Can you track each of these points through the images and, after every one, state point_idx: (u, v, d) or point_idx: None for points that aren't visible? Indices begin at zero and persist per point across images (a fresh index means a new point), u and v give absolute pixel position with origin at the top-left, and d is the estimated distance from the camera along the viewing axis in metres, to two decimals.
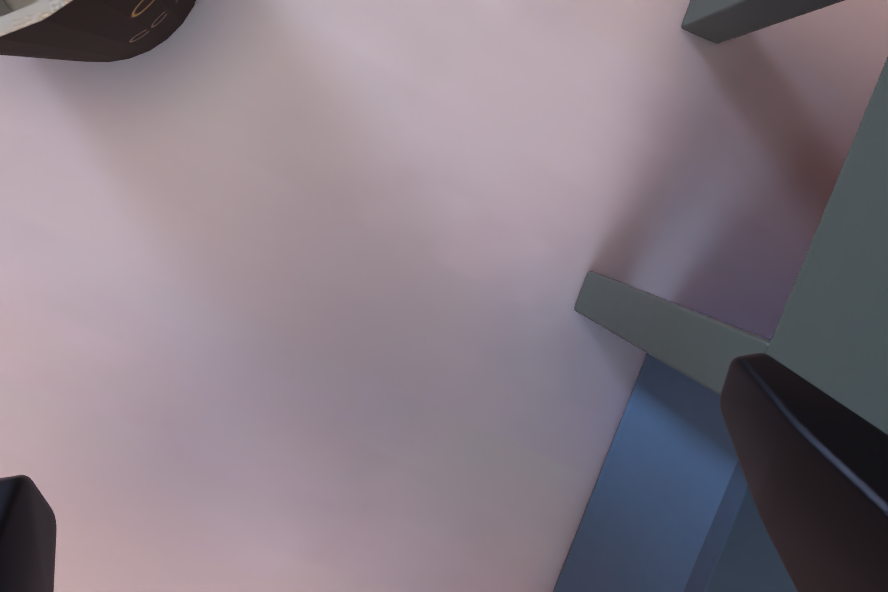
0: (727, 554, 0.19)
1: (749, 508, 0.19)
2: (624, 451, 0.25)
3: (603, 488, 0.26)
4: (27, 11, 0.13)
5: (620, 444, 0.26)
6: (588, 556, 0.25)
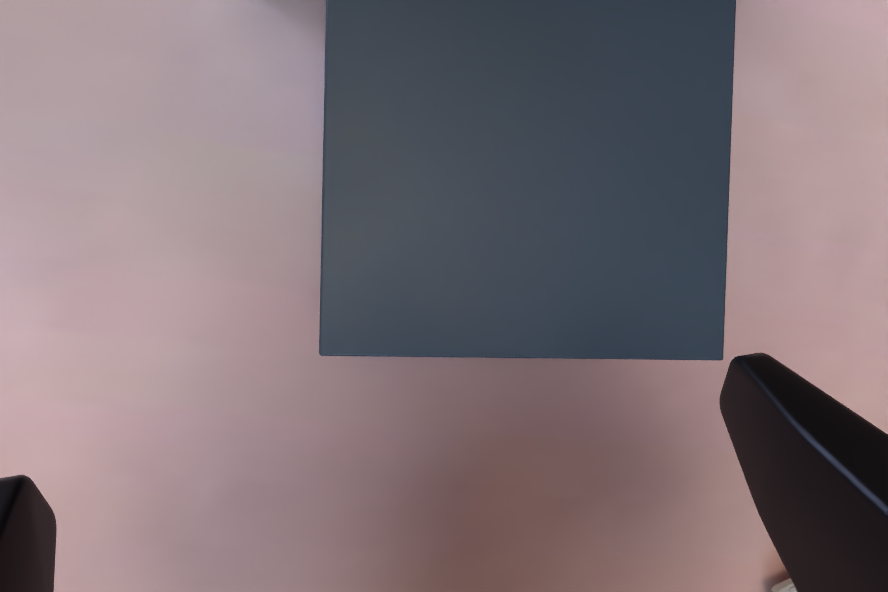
0: (334, 41, 0.17)
1: None
2: None
3: None
4: None
5: None
6: None
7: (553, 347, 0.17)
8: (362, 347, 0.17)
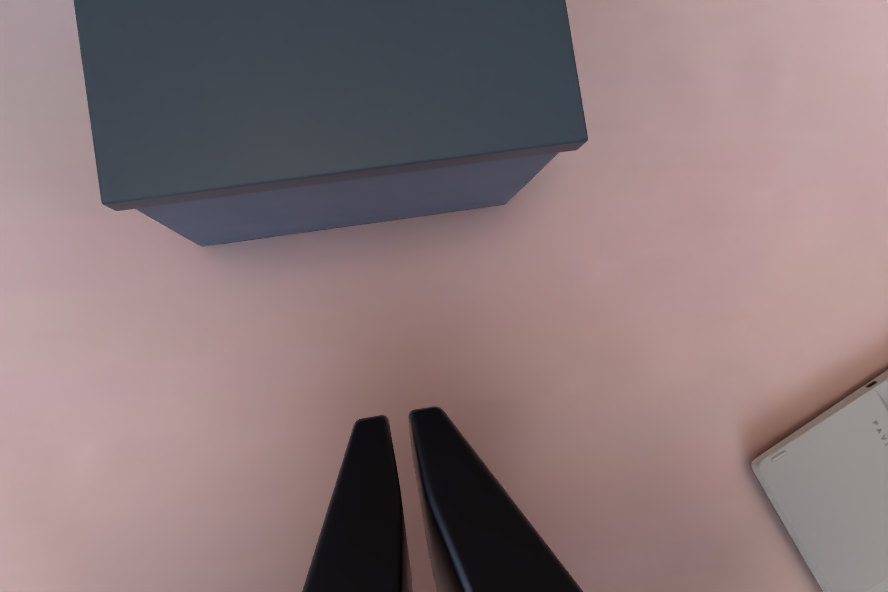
0: None
1: None
2: None
3: None
4: None
5: None
6: None
7: (382, 154, 0.15)
8: (151, 188, 0.14)
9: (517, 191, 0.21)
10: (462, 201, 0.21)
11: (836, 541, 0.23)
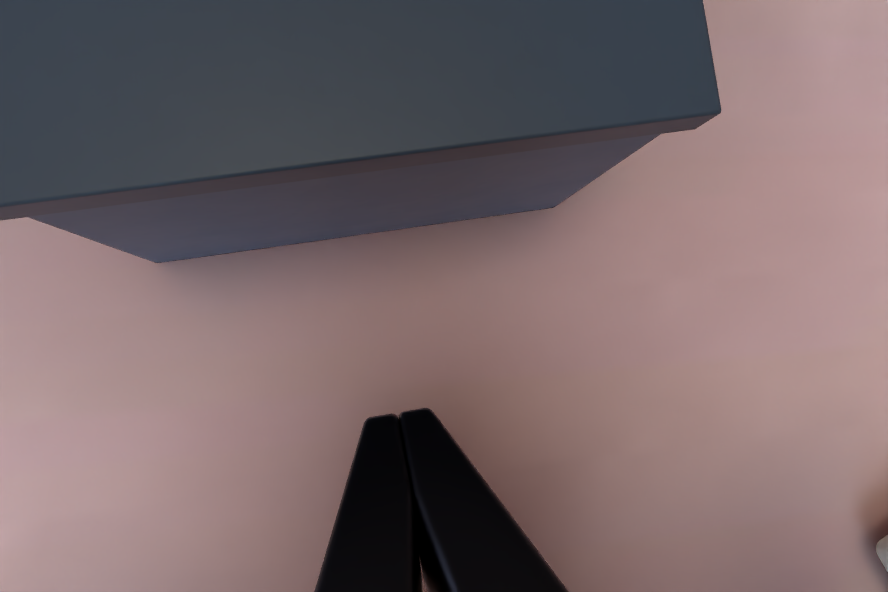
0: None
1: None
2: None
3: None
4: None
5: None
6: None
7: (404, 134, 0.09)
8: (36, 185, 0.09)
9: (577, 190, 0.16)
10: (502, 204, 0.16)
11: None
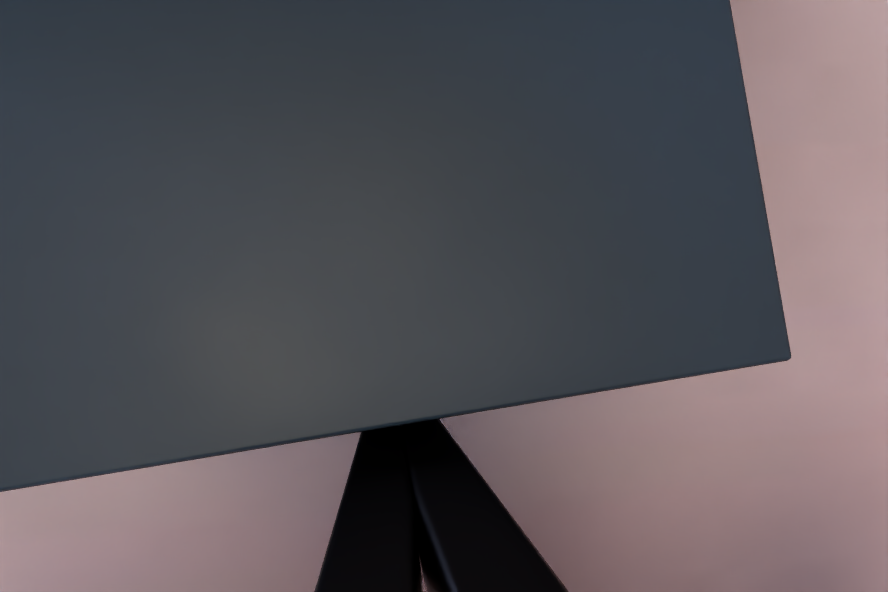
0: None
1: None
2: None
3: None
4: None
5: None
6: None
7: (450, 394, 0.09)
8: (52, 466, 0.08)
9: None
10: None
11: None
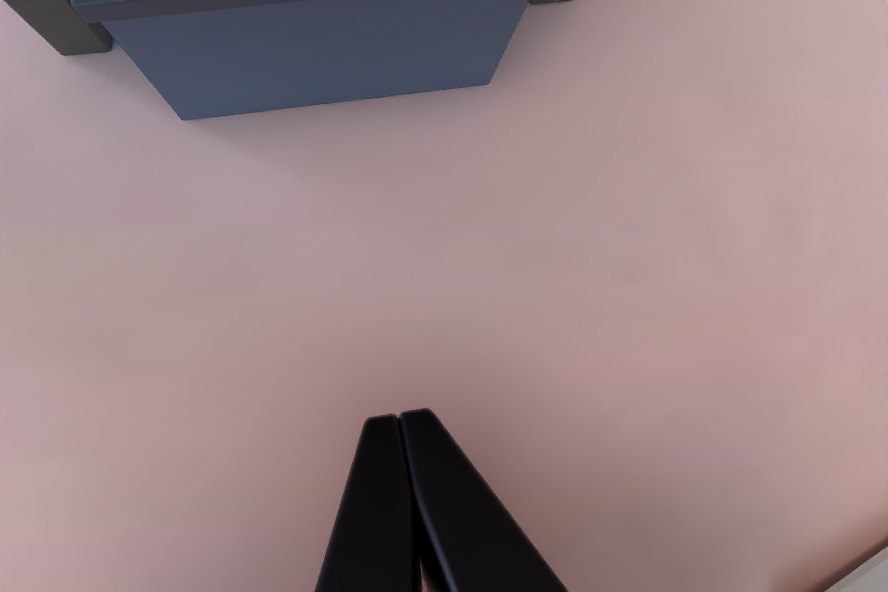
0: None
1: None
2: None
3: None
4: None
5: None
6: None
7: None
8: None
9: (498, 59, 0.21)
10: (443, 71, 0.21)
11: None
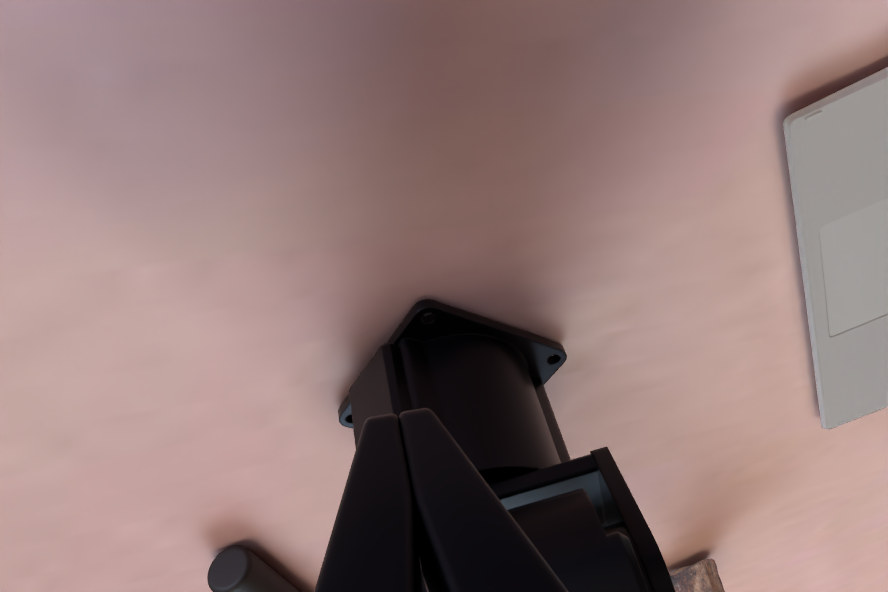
0: None
1: None
2: None
3: None
4: None
5: None
6: None
7: None
8: None
9: None
10: None
11: (826, 186, 0.25)
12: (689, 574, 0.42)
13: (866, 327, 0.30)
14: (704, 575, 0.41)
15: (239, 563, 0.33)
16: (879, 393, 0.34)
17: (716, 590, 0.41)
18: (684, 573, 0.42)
